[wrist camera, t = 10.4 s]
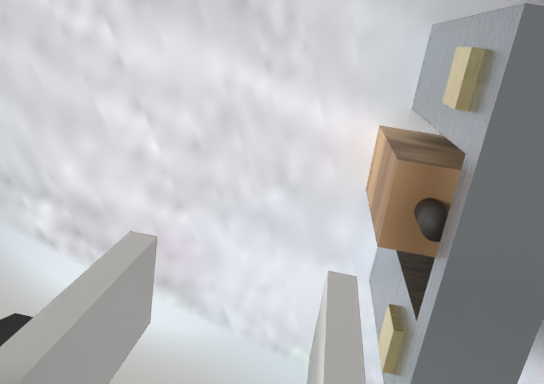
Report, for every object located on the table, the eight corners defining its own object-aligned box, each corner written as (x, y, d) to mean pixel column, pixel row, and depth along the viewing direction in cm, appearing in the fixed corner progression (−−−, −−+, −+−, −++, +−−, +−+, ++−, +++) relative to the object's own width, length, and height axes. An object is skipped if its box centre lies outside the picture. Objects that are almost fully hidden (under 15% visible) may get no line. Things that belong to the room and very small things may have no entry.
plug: (365, 188, 33) (381, 264, 21) (379, 125, 31) (403, 170, 20) (558, 221, 31) (682, 320, 20) (580, 157, 30) (728, 224, 19)
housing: (362, 278, 34) (380, 440, 20) (424, 23, 29) (508, 1, 15) (423, 290, 34) (485, 464, 20) (498, 35, 29) (658, 23, 14)
